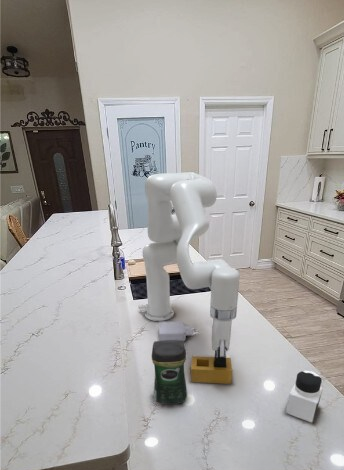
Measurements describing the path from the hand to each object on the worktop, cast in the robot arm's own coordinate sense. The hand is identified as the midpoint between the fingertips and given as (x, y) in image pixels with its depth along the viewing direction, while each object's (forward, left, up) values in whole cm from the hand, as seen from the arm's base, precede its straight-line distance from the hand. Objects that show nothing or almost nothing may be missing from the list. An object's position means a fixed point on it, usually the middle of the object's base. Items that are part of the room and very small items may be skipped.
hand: (219, 362), depth 102 cm
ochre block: (-3, 0, -5) cm, 6 cm away
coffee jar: (-15, -11, -6) cm, 19 cm away
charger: (-15, +23, -6) cm, 28 cm away
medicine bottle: (+22, -14, -6) cm, 27 cm away
